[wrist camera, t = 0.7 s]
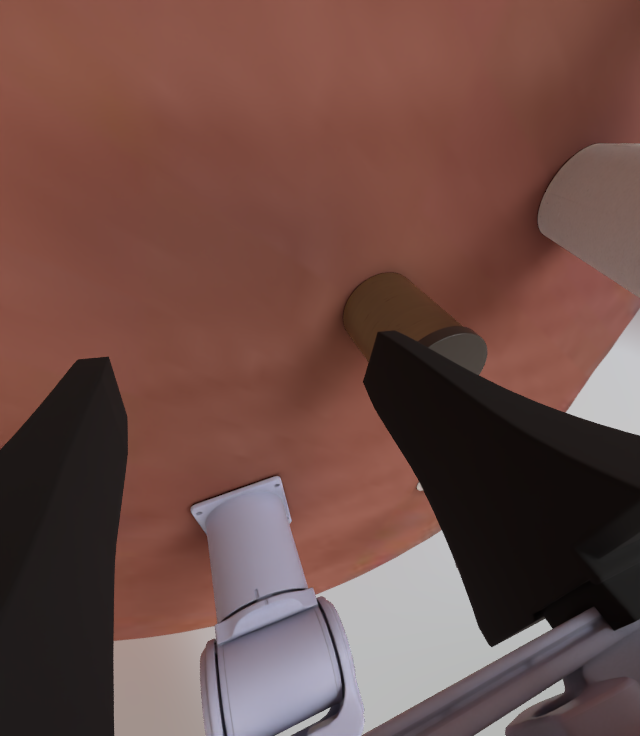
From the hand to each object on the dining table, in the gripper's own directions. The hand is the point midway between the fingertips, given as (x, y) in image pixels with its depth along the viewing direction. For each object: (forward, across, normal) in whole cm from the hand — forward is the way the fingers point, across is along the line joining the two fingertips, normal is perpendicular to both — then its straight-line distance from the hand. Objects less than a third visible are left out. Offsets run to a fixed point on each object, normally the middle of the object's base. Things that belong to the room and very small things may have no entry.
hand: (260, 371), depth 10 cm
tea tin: (+10, -10, +4) cm, 15 cm away
